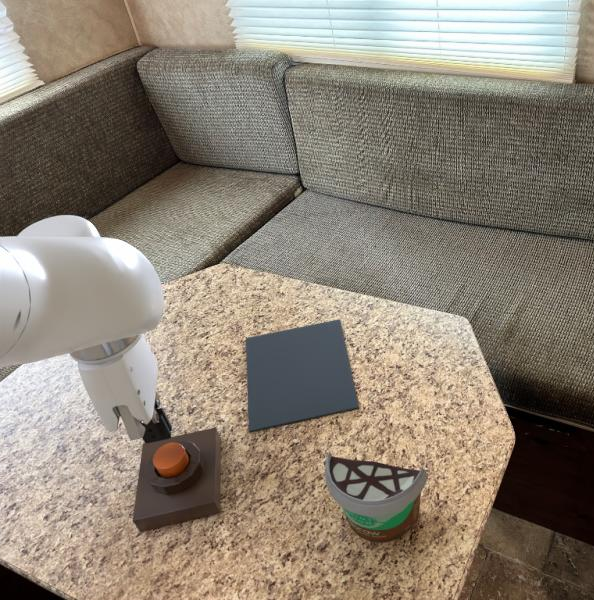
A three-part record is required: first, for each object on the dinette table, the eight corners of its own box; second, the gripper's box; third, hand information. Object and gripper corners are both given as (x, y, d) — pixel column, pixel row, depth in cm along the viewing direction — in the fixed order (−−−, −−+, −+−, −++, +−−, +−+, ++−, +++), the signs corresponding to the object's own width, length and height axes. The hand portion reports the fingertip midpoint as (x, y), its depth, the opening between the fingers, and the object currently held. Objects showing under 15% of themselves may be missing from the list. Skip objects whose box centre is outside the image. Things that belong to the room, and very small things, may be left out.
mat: (359, 408, 89) (358, 406, 88) (249, 432, 87) (248, 431, 86) (340, 320, 104) (339, 319, 103) (246, 339, 102) (245, 337, 102)
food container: (321, 541, 73) (306, 495, 67) (336, 496, 78) (324, 449, 71) (420, 561, 70) (415, 515, 64) (431, 513, 75) (427, 466, 69)
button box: (220, 513, 77) (210, 493, 74) (140, 532, 76) (127, 513, 73) (221, 438, 86) (212, 418, 83) (149, 454, 85) (138, 434, 82)
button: (188, 474, 77) (183, 464, 76) (156, 481, 77) (151, 472, 75) (190, 449, 80) (185, 439, 79) (159, 455, 80) (154, 446, 78)
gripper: (77, 291, 68) (134, 397, 80) (48, 389, 57) (120, 495, 69) (145, 278, 69) (192, 385, 81) (129, 372, 58) (187, 480, 70)
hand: (159, 435), depth 75 cm, fingers closed
